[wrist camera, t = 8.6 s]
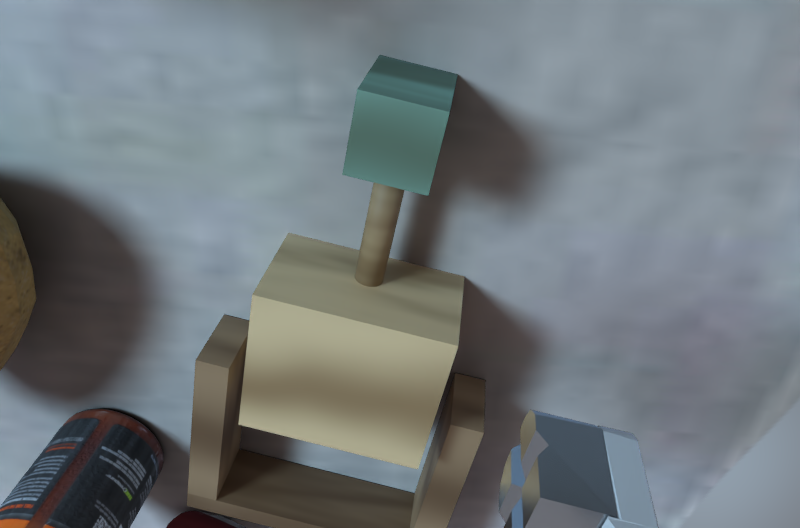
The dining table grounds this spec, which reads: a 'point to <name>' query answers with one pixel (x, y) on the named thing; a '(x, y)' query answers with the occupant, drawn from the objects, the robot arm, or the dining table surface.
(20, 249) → the potato
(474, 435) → the tan piece
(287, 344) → the oak block with dowel handle
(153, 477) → the supplement bottle
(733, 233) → the dining table surface
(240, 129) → the dining table surface
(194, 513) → the knife
